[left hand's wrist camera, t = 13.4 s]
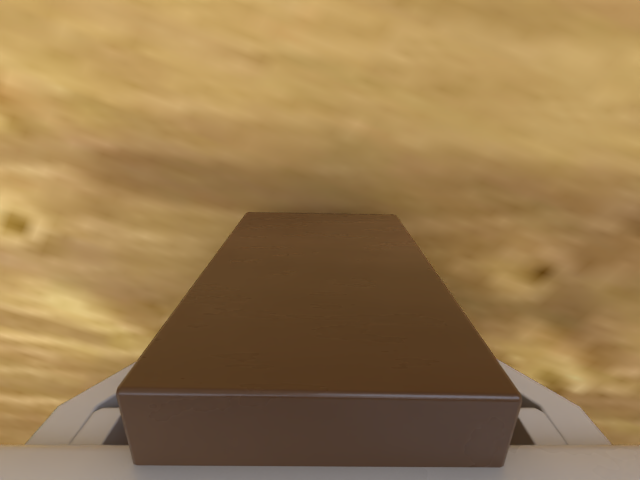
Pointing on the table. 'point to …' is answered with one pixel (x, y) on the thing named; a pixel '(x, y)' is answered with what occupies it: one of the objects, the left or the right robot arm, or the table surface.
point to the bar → (318, 357)
